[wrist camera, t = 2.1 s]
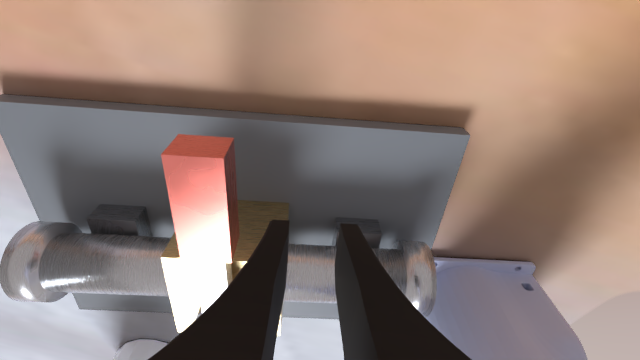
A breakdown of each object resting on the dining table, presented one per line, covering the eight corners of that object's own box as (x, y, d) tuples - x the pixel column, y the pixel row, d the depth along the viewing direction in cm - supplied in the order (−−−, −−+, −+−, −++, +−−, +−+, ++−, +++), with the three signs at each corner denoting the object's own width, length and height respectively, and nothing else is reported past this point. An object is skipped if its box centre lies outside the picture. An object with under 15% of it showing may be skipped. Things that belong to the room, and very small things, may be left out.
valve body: (420, 210, 23) (450, 276, 18) (401, 275, 26) (422, 346, 21) (51, 189, 22) (-29, 254, 17) (80, 260, 25) (20, 332, 20)
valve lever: (247, 322, 20) (242, 352, 18) (203, 321, 19) (193, 350, 18) (239, 138, 13) (229, 159, 12) (173, 133, 13) (155, 154, 12)
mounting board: (462, 127, 21) (470, 135, 20) (403, 310, 31) (406, 321, 30) (2, 94, 20) (-15, 100, 19) (87, 297, 29) (79, 309, 28)
